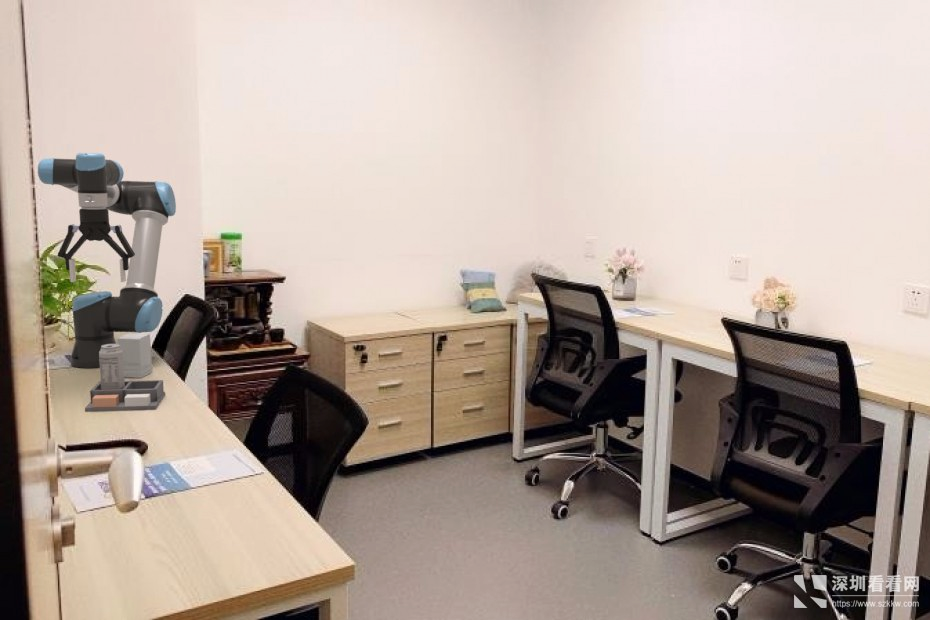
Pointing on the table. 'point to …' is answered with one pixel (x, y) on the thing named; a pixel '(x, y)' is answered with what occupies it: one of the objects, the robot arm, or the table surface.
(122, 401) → the socket deck
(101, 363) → the energy drink can
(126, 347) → the supplement box
